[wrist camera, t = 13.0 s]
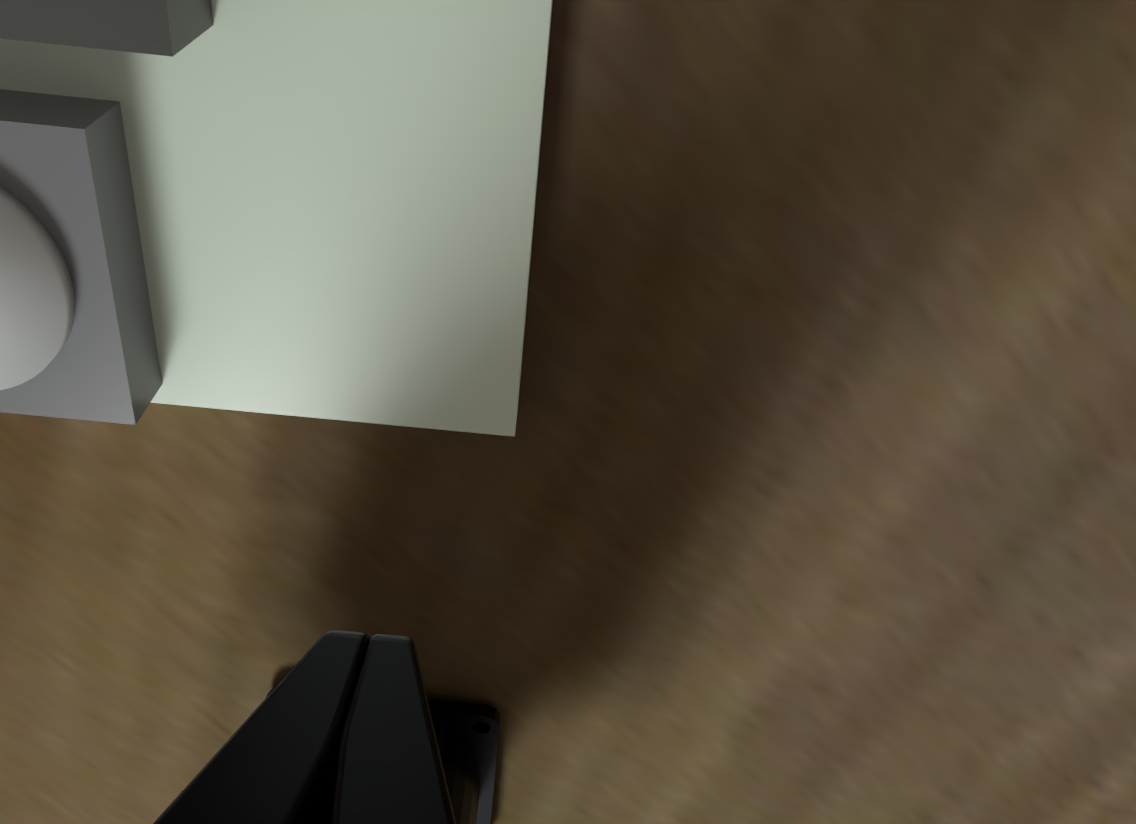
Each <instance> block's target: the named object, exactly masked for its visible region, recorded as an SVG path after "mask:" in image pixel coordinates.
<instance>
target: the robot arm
mask: <svg viewBox="0 0 1136 824" xmlns="http://www.w3.org/2000/svg"><path fill="white" fill-rule="evenodd" d="M499 728H500V713H499V712H498V710H497V709H496V708H494V707H492V706H490V705H485V704H477V703H465V702H453V701H441V700H429V699H427V696H426V692H425V688H424V683H423V679H422V675H421V671H420V666H419V662H418V658H417V653H416V649H415V645H414V642H413V640H412V639H411V638H410V637H407V636H398V635H387V634H375V635H373V636H372V637H371V638H369V636H368V635H367V634H365V633H363V632H352V631H341V630H330V631H328V632H326V633H325V634H324V635H323V636H322V637H321V638H320V639H319V640H318V641H317V642H316V643H315V644H314V645H313V646H312V648H311V649H310V650H309V651H308V652H307V653H306V654H305V655H304V656H303V658H302V659H301V660H300V661H299V662H298V663H297V664H296V665H295V666H294V668H293V669H292V670H291V671H290V672H289V673H288V674H287V675H286V676H285V678H284V679H283V680H282V681H281V682H280V683H279V684H278V685H277V686H276V688H275V689H272V690H271V691H270V692H269V693H268V694H267V697H266V699H265V700H264V701H263V702H262V703H261V704H260V705H259V706H258V708H257V709H256V710H255V711H254V712H253V713H252V714H251V715H250V717H249V718H248V719H247V720H246V721H245V722H244V723H243V724H242V725H241V727H240V728H239V729H238V730H237V731H236V732H235V733H234V734H233V735H232V737H231V738H230V739H229V740H228V741H227V742H226V743H225V744H224V745H223V747H222V748H221V749H220V750H219V751H218V752H217V753H216V754H215V755H214V757H213V758H212V759H211V760H210V761H209V762H208V763H207V764H206V765H205V767H204V768H203V769H202V770H201V771H200V772H199V773H198V774H197V775H196V777H195V778H194V779H193V780H192V781H191V782H190V783H189V784H188V785H187V787H186V788H185V789H184V790H183V791H182V792H181V793H180V794H179V795H178V797H177V798H176V799H175V800H174V801H173V802H172V803H171V804H170V805H169V807H168V808H167V809H166V810H165V811H164V812H163V813H162V814H161V815H160V817H159V818H158V819H157V820H156V821H155V822H154V823H153V824H491V814H492V803H493V792H494V781H495V771H496V760H497V749H498V738H499Z"/></svg>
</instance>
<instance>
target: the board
mask: <svg viewBox="0 0 1136 824" xmlns="http://www.w3.org/2000/svg"><path fill="white" fill-rule="evenodd" d="M552 4H553V0H0V412H4V413H15V414H25V415H36V416H47V417H58V418H68V419H79V420H90V421H101V422H111V423H122V424H133V425H136V423H137V422H138V420H139V419H140V417H141V416H142V414H143V413H144V411H145V410H146V408H147V407H148V405H149V404H150V402H151V403H162V404H173V405H183V406H194V407H204V408H215V409H226V410H236V411H247V412H258V413H268V414H279V415H290V416H300V417H311V418H322V419H332V420H343V421H354V422H364V423H375V424H386V425H396V426H407V427H418V428H428V429H439V430H450V431H460V432H471V433H482V434H492V435H503V436H513V437H515V430H516V422H517V413H518V402H519V390H520V379H521V367H522V355H523V343H524V332H525V320H526V308H527V297H528V285H529V273H530V261H531V250H532V238H533V226H534V215H535V203H536V191H537V179H538V168H539V156H540V144H541V133H542V121H543V109H544V97H545V86H546V74H547V62H548V51H549V39H550V27H551V15H552Z"/></svg>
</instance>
